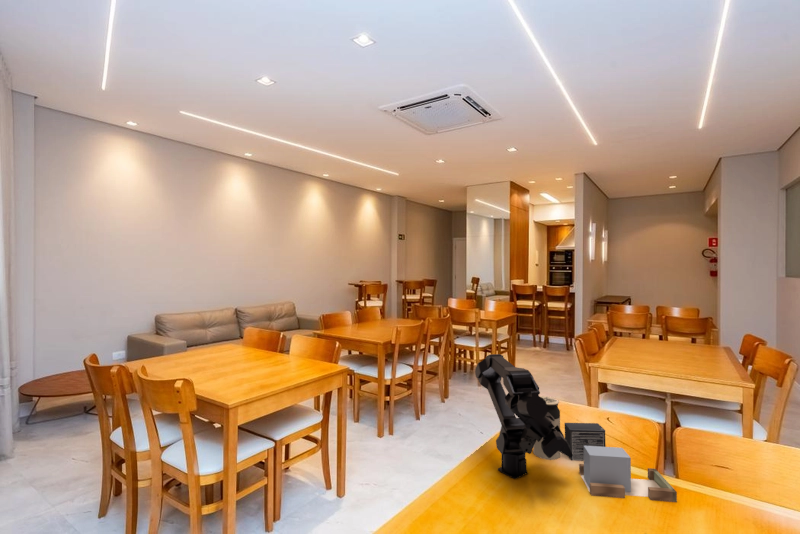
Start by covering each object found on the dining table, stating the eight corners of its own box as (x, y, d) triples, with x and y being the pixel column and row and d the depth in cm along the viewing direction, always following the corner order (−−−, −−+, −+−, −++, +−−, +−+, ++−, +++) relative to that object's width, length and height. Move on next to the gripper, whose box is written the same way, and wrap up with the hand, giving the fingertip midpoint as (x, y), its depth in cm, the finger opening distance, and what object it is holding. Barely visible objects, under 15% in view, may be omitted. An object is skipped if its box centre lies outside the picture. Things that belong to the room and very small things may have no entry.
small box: (598, 455, 131) (598, 422, 131) (606, 465, 125) (606, 430, 125) (564, 454, 132) (563, 421, 132) (570, 463, 126) (570, 429, 126)
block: (590, 489, 110) (589, 455, 110) (583, 477, 116) (583, 445, 116) (630, 492, 108) (630, 457, 108) (622, 480, 114) (622, 447, 114)
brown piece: (597, 510, 102) (597, 496, 102) (574, 467, 123) (574, 455, 123) (687, 518, 98) (687, 503, 98) (647, 472, 120) (647, 460, 120)
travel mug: (557, 465, 125) (556, 405, 125) (530, 458, 129) (529, 401, 129) (562, 455, 132) (562, 398, 132) (537, 449, 136) (536, 394, 136)
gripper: (505, 420, 125) (543, 459, 123) (511, 447, 107) (556, 493, 105) (532, 395, 124) (571, 434, 122) (542, 418, 105) (589, 465, 104)
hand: (571, 456), depth 113 cm, fingers closed
